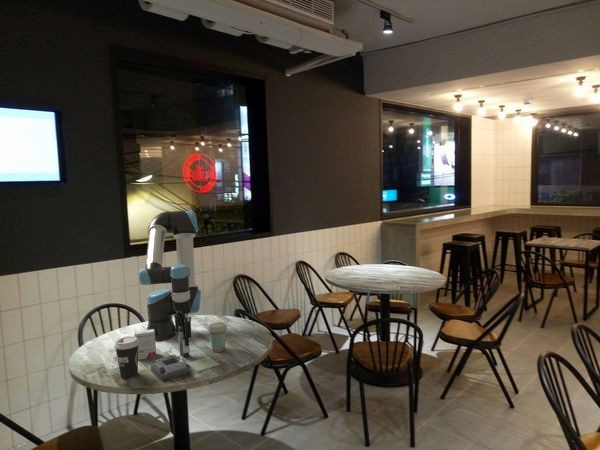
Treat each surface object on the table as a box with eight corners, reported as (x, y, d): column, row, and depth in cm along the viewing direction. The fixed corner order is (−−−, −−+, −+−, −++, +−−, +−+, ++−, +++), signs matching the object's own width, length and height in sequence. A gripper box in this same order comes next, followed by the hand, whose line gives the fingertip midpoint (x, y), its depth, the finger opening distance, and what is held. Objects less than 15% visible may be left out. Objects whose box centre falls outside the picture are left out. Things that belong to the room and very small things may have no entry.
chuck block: (151, 371, 178) (150, 361, 177) (178, 363, 185) (178, 353, 185) (162, 381, 168) (161, 370, 168) (190, 372, 176) (190, 361, 175)
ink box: (156, 353, 197) (154, 328, 196) (156, 357, 192) (154, 331, 191) (136, 355, 194) (134, 330, 193) (136, 360, 190) (134, 334, 188)
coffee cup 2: (224, 354, 193) (222, 328, 192) (206, 353, 195) (205, 327, 194) (230, 346, 202) (229, 322, 200) (213, 345, 203) (212, 321, 202)
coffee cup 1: (121, 370, 179) (118, 336, 178) (144, 369, 180) (142, 334, 179) (113, 381, 170) (110, 345, 168) (137, 379, 171) (135, 343, 169)
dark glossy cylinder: (178, 356, 192) (176, 326, 191) (187, 353, 195) (185, 324, 193) (182, 358, 189) (180, 328, 188) (190, 356, 192) (189, 326, 190)
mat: (187, 364, 183) (186, 363, 183) (208, 358, 190) (208, 356, 189) (197, 372, 176) (197, 370, 176) (219, 365, 182) (218, 363, 182)
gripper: (165, 298, 194) (169, 347, 196) (181, 306, 180) (184, 359, 183) (181, 294, 198) (184, 343, 201) (197, 302, 185) (200, 354, 188)
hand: (184, 350), depth 192 cm, fingers closed on dark glossy cylinder, 4 cm apart
